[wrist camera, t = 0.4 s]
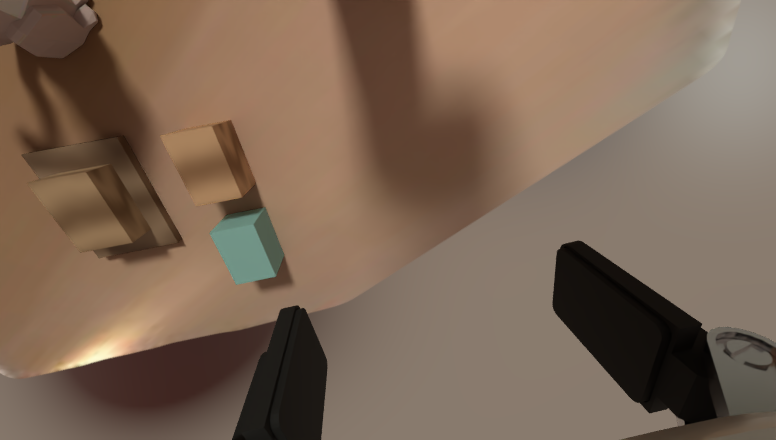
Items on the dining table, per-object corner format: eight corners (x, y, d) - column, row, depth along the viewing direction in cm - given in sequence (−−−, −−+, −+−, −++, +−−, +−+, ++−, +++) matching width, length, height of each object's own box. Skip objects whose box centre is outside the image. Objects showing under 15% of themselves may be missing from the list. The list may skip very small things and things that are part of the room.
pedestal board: (30, 152, 37) (-16, 162, 33) (123, 135, 38) (91, 143, 33) (105, 253, 44) (76, 274, 40) (182, 238, 45) (162, 257, 40)
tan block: (186, 128, 38) (159, 135, 33) (231, 119, 38) (211, 126, 33) (215, 190, 42) (196, 206, 37) (256, 182, 42) (242, 197, 37)
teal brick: (226, 214, 44) (209, 233, 39) (265, 206, 44) (253, 224, 39) (249, 261, 48) (236, 284, 43) (284, 254, 48) (276, 276, 43)
